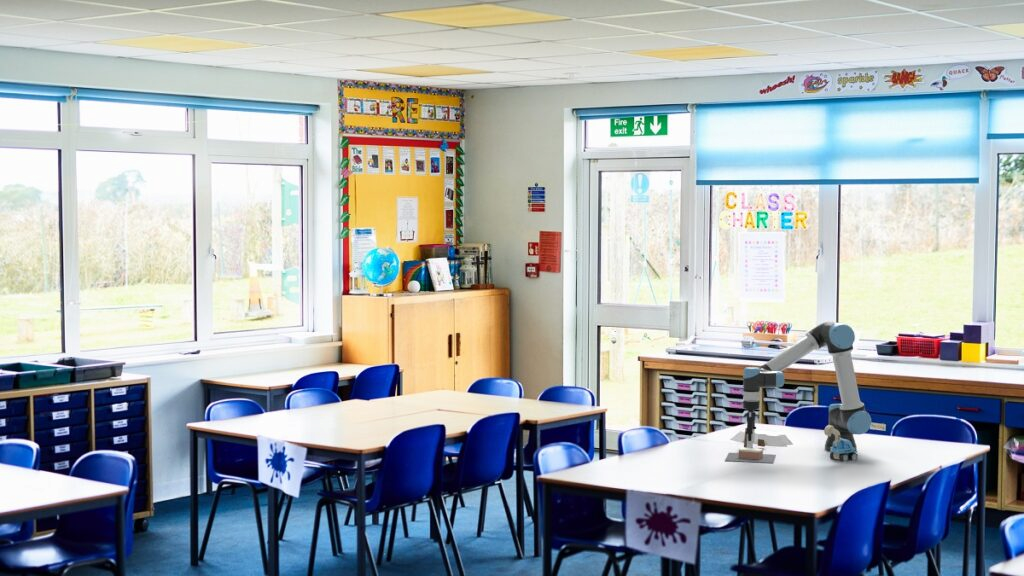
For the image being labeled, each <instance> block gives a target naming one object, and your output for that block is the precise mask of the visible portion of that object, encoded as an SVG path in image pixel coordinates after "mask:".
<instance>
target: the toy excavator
mask: <svg viewBox="0 0 1024 576" xmlns="http://www.w3.org/2000/svg"><path fill="white" fill-rule="evenodd" d="M823 433H824V435H825V436H827V437H828V436H831V433H833V434H834V435H835V441H834V442H833V447H830V451H831V452H830V451H829V458H830V460H839V462H848V461H852V460H853V461H857V460H858V453H856V452H855V448H854V447H852V443H851V442H850V441H849V440H847V439H843V438H840V432H839V431H838V430H836V429H834V426H831V425H829V424H828V425H826V426H825V428H824V430H823Z"/></svg>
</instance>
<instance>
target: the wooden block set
mask: <svg viewBox="0 0 1024 576" xmlns="http://www.w3.org/2000/svg"><path fill="white" fill-rule="evenodd" d="M744 431H745V432H747V427H745V429H744ZM757 446H758V447H764V448H765V447H766V444H765V442H764V440H762V439H758V444H757ZM743 447H745V448H747V434H745V438H744V442H743Z"/></svg>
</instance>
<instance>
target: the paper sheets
mask: <svg viewBox="0 0 1024 576" xmlns="http://www.w3.org/2000/svg"><path fill="white" fill-rule="evenodd" d="M744 438H745V430H740V431H739V432H737V433H736V434H735V435H734V436H732V437H731V438H730V439H729V440H730V441H734V442H739V443H744ZM758 439H762V440H764V442H765V445H767V446H769V447H785V448H787V447H788V445H794V443H793V442H792V441H791V440H790V439H789V438H788V437H787V435H786V434H785V433H783V432H780V431H777V432H776V431H775V432H774V431H770V430H768V431H767V430H764V429H763V430H762V429H755V443H754V444H756V445H758Z"/></svg>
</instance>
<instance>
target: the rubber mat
mask: <svg viewBox="0 0 1024 576" xmlns="http://www.w3.org/2000/svg"><path fill="white" fill-rule="evenodd" d="M738 456H739V452H728V453H727V456H726V457H725V459H724V462H730V463H731V462H732V463H753V464H754V463H755V464H772V465H774V462H775V459H776V454H772V453H771V454H770V453H769V454H767V453H763V458H761V459H748V458H738Z"/></svg>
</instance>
